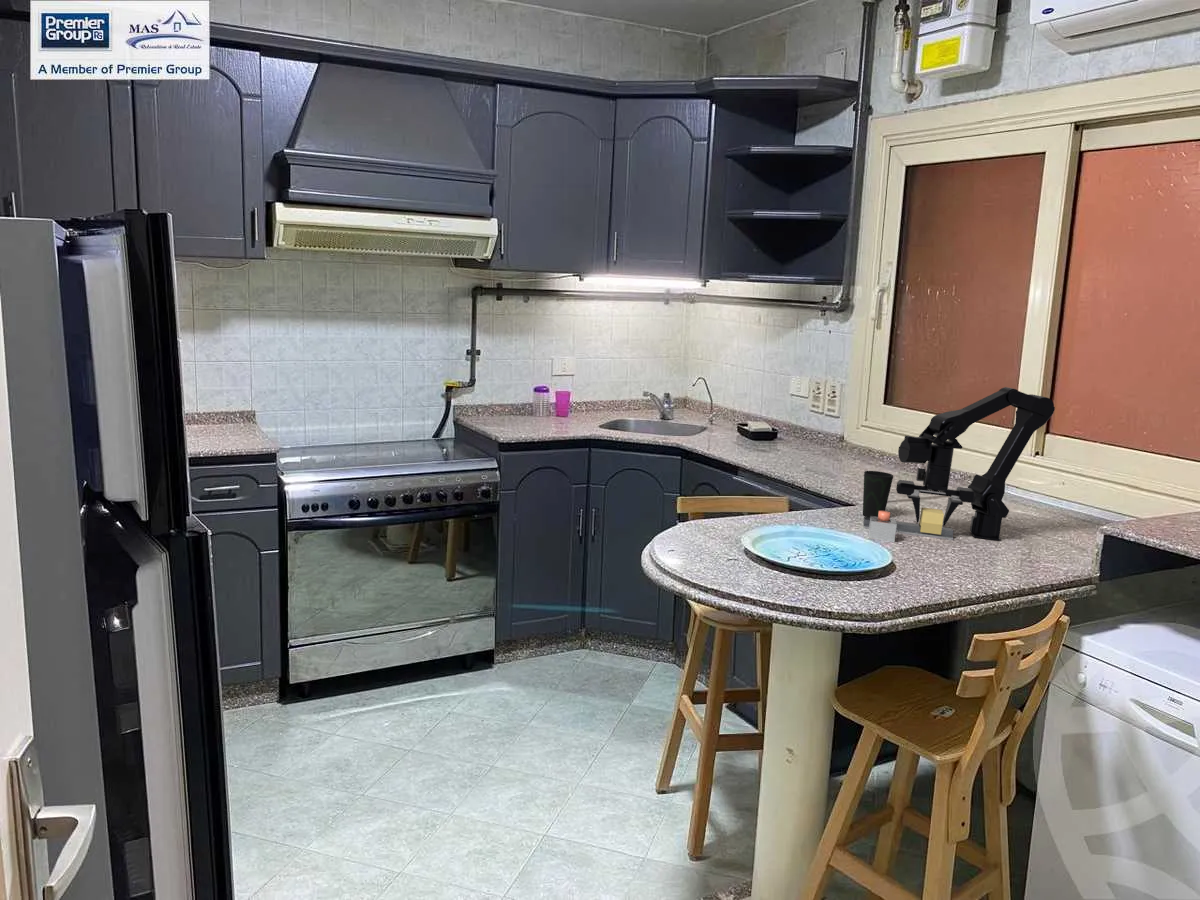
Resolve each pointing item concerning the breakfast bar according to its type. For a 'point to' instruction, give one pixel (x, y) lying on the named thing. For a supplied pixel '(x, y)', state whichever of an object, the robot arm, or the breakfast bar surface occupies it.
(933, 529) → the carriage
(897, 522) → the rail
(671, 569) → the breakfast bar surface
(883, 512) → the button
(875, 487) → the cup
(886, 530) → the cabinet
